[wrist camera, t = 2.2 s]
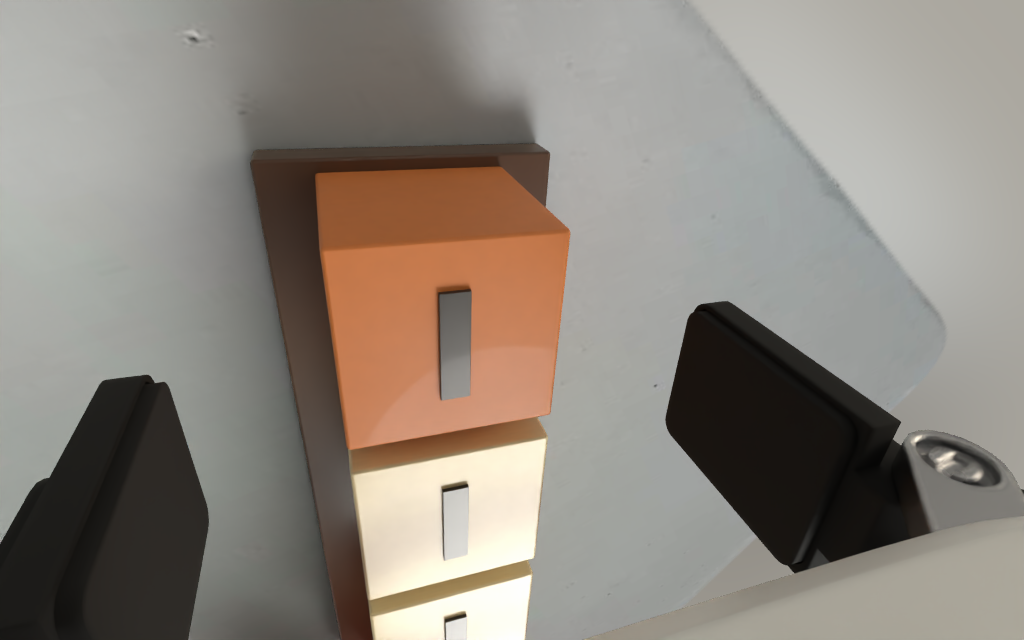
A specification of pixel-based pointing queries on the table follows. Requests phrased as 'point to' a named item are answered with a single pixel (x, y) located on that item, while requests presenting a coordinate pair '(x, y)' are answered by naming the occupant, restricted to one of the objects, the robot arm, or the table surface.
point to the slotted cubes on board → (409, 463)
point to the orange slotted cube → (439, 299)
